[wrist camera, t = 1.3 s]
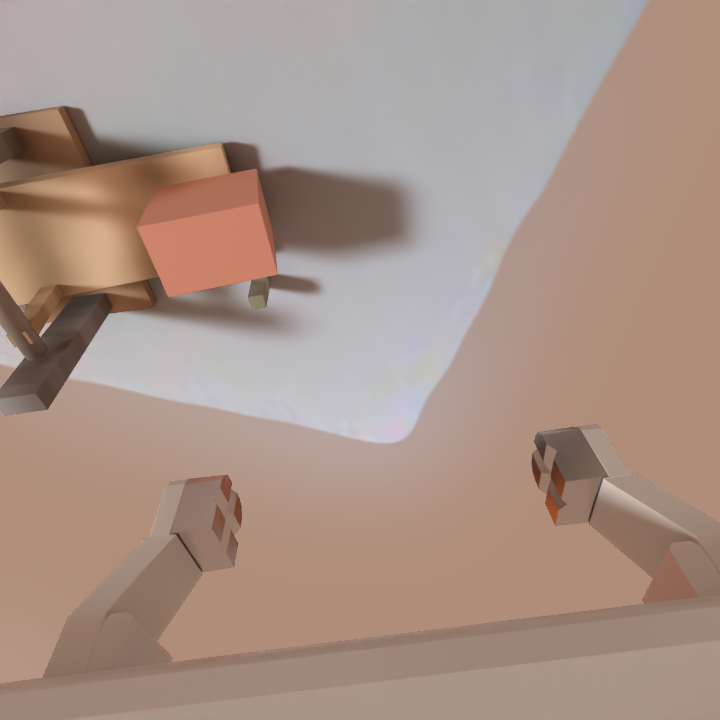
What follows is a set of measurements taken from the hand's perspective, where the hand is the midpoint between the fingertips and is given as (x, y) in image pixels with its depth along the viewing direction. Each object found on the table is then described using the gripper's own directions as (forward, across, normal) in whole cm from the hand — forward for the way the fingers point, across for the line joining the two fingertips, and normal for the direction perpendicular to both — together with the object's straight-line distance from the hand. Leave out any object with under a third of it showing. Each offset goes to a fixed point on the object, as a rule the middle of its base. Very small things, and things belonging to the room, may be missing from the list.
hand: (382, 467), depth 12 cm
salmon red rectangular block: (+21, +8, 0) cm, 22 cm away
